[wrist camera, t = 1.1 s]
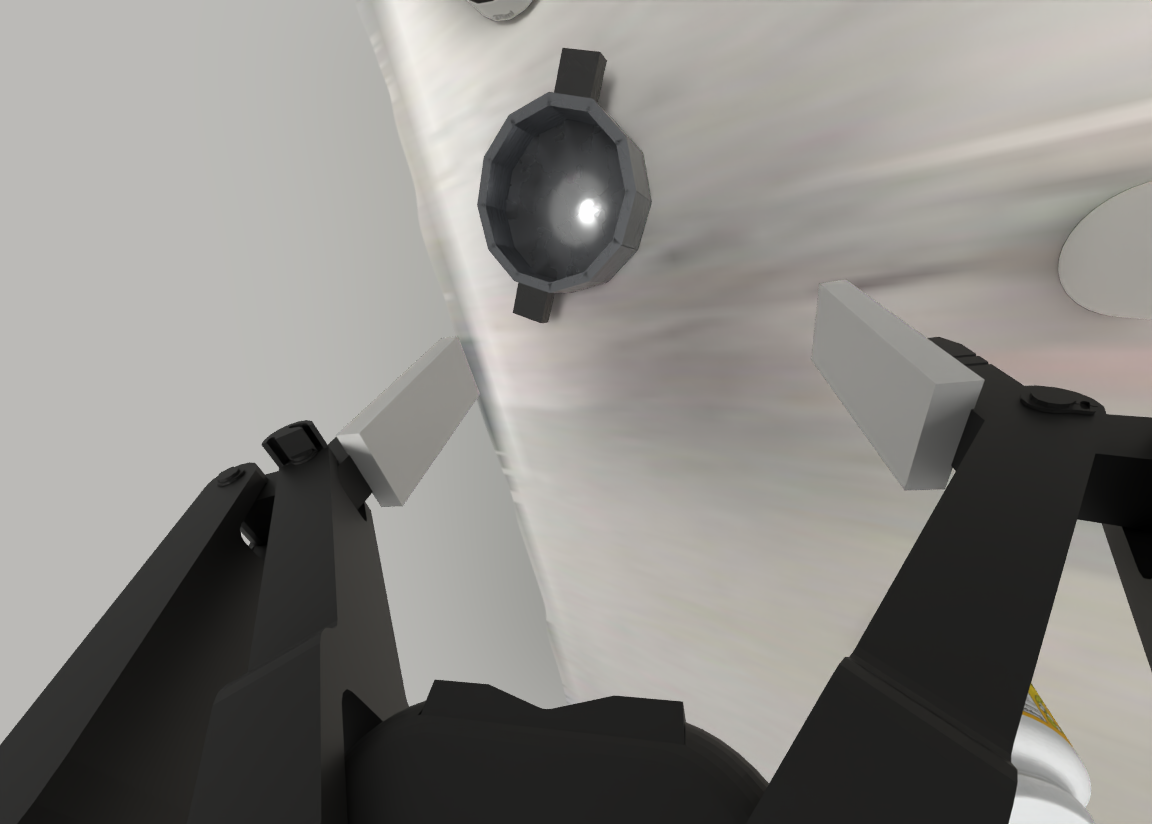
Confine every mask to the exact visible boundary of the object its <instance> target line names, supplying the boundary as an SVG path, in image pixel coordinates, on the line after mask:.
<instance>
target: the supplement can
mask: <svg viewBox="0 0 1152 824" xmlns="http://www.w3.org/2000/svg"><path fill="white" fill-rule="evenodd" d="M467 1H468V2H469V3H470V4H471V5H472V6H473V7H474V8H475V9H476V10H477V11H479V12H480V13H481V14H482V15H483V16H485V17H487V18H490V19H492V20H494V21H503V20H509V19H512V18H514V17H515V16H517V15H518V14H520V13H521V12H522V11H524V10H525V9H526V8H527V7H528V6H529V5H530V3H531V2H532V1H533V0H467Z"/></svg>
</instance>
